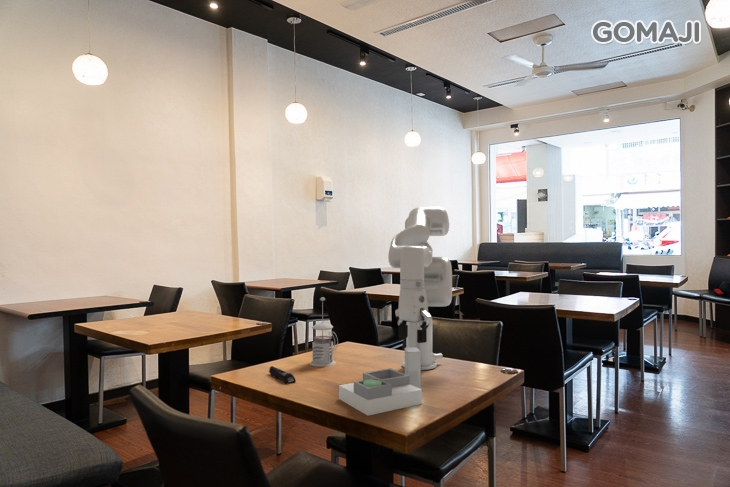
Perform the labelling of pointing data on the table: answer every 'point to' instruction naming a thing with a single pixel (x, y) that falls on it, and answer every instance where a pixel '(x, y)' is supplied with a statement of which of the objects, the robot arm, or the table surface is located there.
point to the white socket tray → (381, 392)
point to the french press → (323, 345)
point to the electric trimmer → (282, 375)
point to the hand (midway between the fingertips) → (412, 340)
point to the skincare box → (413, 366)
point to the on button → (372, 383)
